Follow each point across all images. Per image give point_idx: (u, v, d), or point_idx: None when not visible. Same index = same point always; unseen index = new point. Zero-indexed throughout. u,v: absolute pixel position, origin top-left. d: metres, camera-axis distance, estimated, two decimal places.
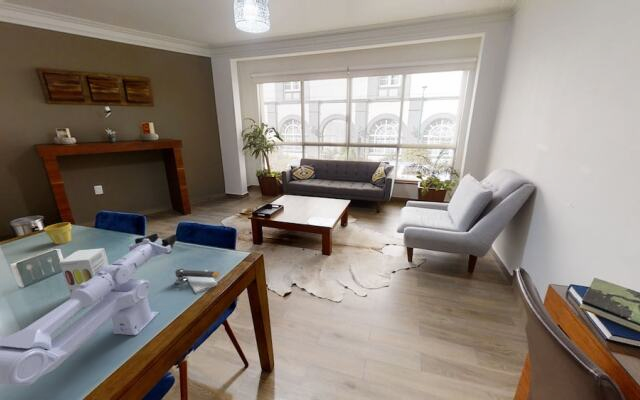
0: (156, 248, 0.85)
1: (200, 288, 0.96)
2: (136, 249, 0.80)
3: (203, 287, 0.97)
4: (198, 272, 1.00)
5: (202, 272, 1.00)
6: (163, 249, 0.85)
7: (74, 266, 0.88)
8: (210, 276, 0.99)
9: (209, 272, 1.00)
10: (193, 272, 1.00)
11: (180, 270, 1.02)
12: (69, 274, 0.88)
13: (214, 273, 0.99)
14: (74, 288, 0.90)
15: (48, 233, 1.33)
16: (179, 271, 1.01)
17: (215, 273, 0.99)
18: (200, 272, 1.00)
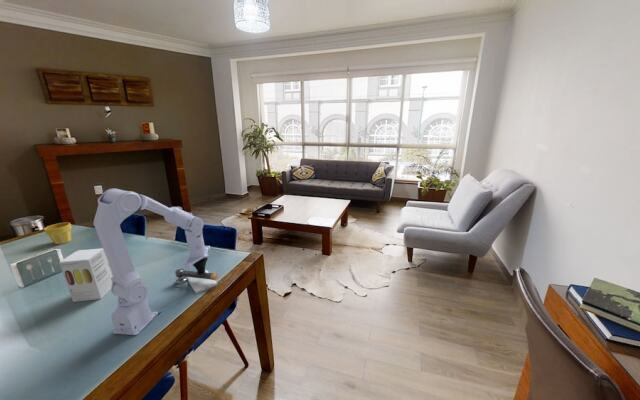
0: (194, 259, 0.96)
1: (200, 288, 0.96)
2: (202, 245, 0.97)
3: (203, 287, 0.97)
4: (197, 273, 1.00)
5: (201, 273, 1.00)
6: (190, 262, 0.94)
7: (74, 266, 0.88)
8: (208, 278, 0.98)
9: (208, 274, 0.99)
10: (192, 273, 1.00)
11: (180, 270, 1.02)
12: (69, 274, 0.88)
13: (212, 275, 0.98)
14: (74, 288, 0.90)
15: (48, 233, 1.33)
16: (179, 271, 1.01)
17: (213, 275, 0.98)
18: (199, 273, 1.00)
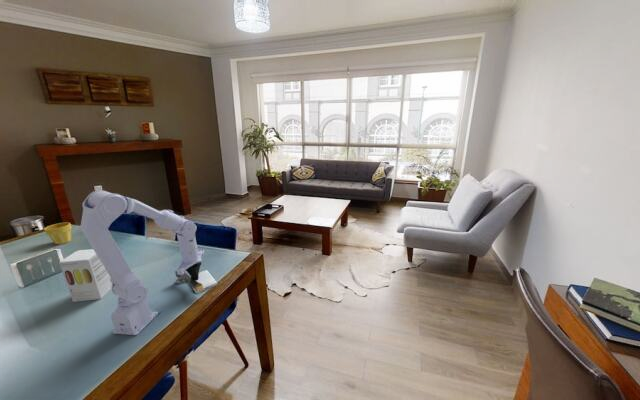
0: (187, 264, 0.92)
1: None
2: (195, 250, 0.93)
3: (203, 287, 0.97)
4: (188, 278, 0.96)
5: (191, 280, 0.95)
6: (182, 268, 0.90)
7: (74, 266, 0.88)
8: (194, 287, 0.93)
9: (195, 282, 0.94)
10: (185, 277, 0.97)
11: None
12: (69, 274, 0.88)
13: (196, 285, 0.92)
14: (74, 288, 0.90)
15: (48, 233, 1.33)
16: None
17: (197, 286, 0.92)
18: (189, 279, 0.96)
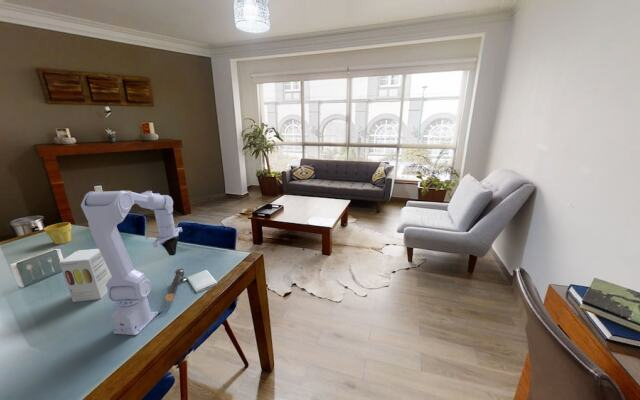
0: (164, 238, 0.97)
1: (201, 287, 0.97)
2: (172, 225, 0.98)
3: (204, 286, 0.97)
4: (173, 283, 0.94)
5: (173, 285, 0.92)
6: (158, 241, 0.95)
7: (74, 266, 0.88)
8: None
9: (172, 290, 0.90)
10: (174, 280, 0.96)
11: (180, 271, 1.01)
12: (69, 274, 0.88)
13: (168, 294, 0.87)
14: (74, 288, 0.90)
15: (48, 233, 1.33)
16: (178, 271, 1.01)
17: (168, 295, 0.87)
18: (173, 284, 0.93)
